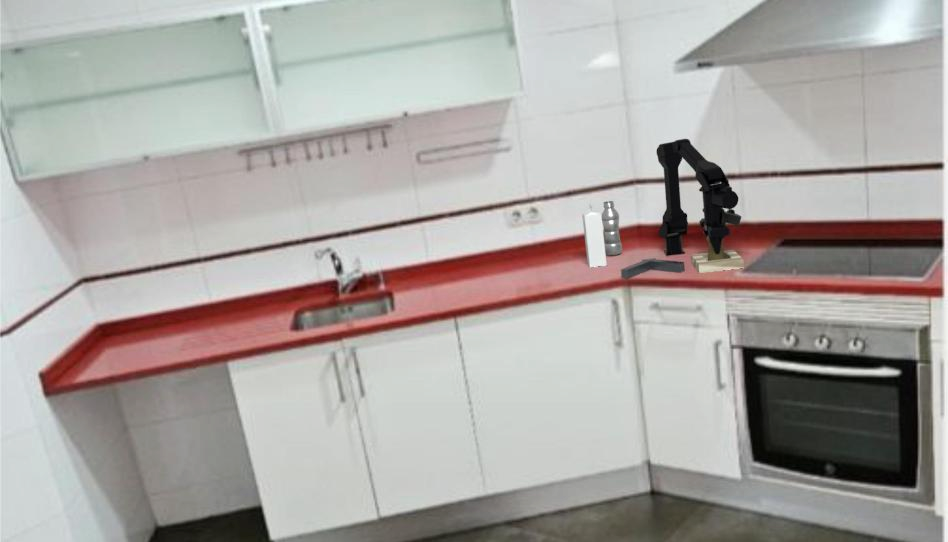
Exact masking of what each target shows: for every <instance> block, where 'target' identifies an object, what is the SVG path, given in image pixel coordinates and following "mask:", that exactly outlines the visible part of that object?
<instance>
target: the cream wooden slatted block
mask: <svg viewBox="0 0 948 542" xmlns="http://www.w3.org/2000/svg"><path fill="white" fill-rule="evenodd" d="M708 253H709V252H704V253H695V254H691V255H690V259H691V261H690V262H691V264H692V266H693V267H694V268H695V270H696V272H697V273H699V274H706V273H707V272H708V273H715V271H716V272H724V271H723V270H725V271H732V270H731V269H734V270H741V269H740V268H743V269H745V263H744V258H743V257H741V255H739V253H737V251H735V249H730V250H729V249H728V250H724V255H725V259H721V260H712V261H708ZM708 273H707V274H708Z"/></svg>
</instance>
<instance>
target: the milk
mask: <svg viewBox="0 0 948 542" xmlns="http://www.w3.org/2000/svg"><path fill="white" fill-rule="evenodd" d="M588 204H589V205H588V206H589V208H588V209H586V210H585V211H584V212H582V213H581V214H582V224H583V232H584V243H585V251H586V259H587V260H586V261H587V265H588V267H589V268H590V269H592V268H591V267H594V268H599V267H598V266H602V267H607V266H608V265H607V254H606V253H605V245H604V243H605V234H604V228H603V223H602V216H601V215H602V213H601V212H600V211H599V210H597V209H594V208H593V205H591V203H588ZM606 265H607V266H606Z"/></svg>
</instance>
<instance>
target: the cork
mask: <svg viewBox="0 0 948 542" xmlns="http://www.w3.org/2000/svg"><path fill="white" fill-rule="evenodd" d="M706 241H707V243H708V252H707V253H708V261H712V260H721V259H725V255H724V251H725V250H724V247H723V242H724V238H723V239H722V243H721V248H720V253H719V254H716V253H715V251H714V249H713V247H712V245H711V243H710V241H709V238H708V236H707V238H706Z"/></svg>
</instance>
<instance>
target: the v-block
mask: <svg viewBox="0 0 948 542" xmlns="http://www.w3.org/2000/svg"><path fill="white" fill-rule="evenodd" d="M685 267H686V266H685V261H678V260H676V261H675V260H667V259H656V258H646V259H641V261H639V262H635V263H634V264H631V265H628V266H625V267H624V268H620V272H621V273H620V274H621V279H626V280H627V279H630V278H633V277H636V276H638V275H641V274H643V273H646V272H648V271H651V270H653V271H661V272H669V273H679V274H680V273H684V272H685V271H686V269H685ZM640 273H641V274H640ZM635 275H636V276H635Z"/></svg>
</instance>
